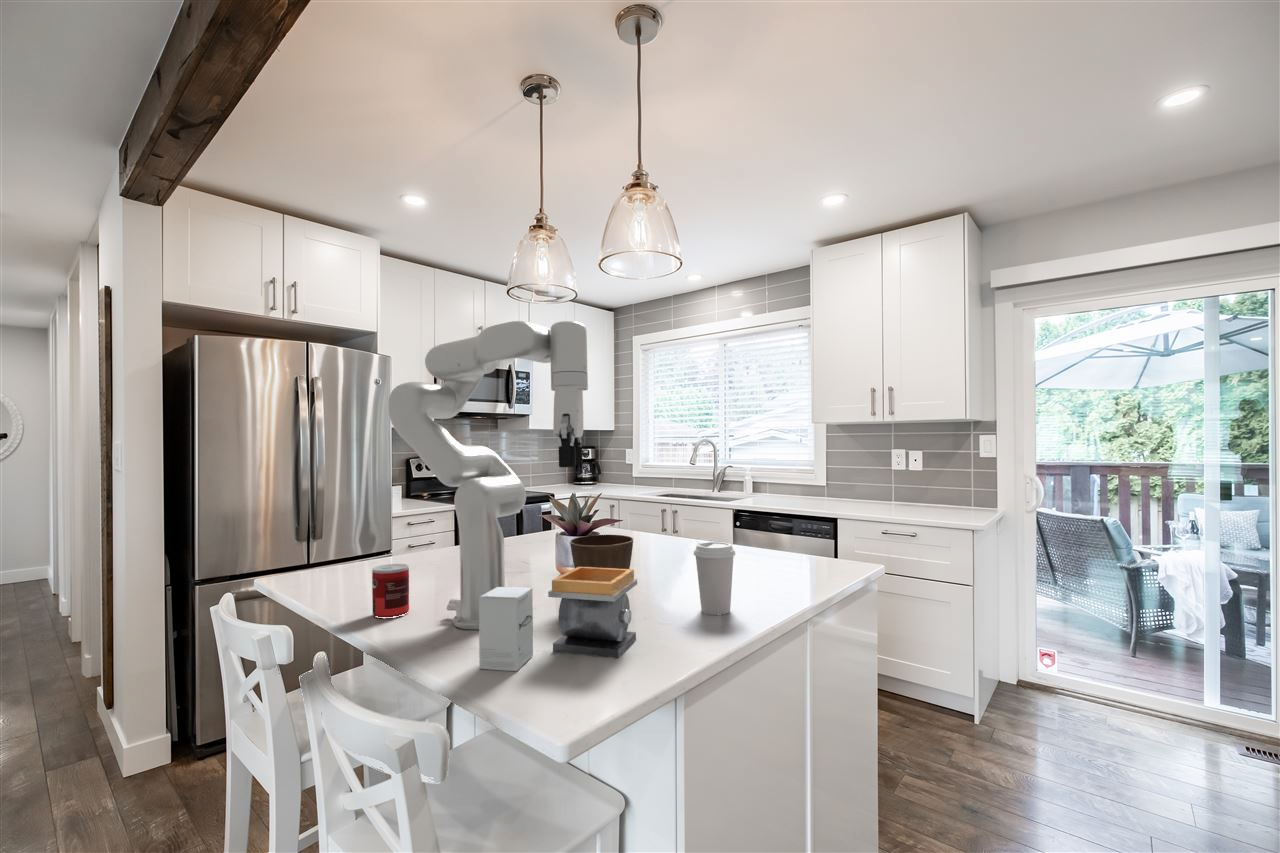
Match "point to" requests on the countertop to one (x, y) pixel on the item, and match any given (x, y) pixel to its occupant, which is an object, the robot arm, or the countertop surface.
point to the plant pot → (602, 551)
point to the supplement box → (505, 628)
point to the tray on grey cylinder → (594, 611)
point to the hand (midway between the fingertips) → (571, 466)
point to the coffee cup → (715, 576)
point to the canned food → (390, 590)
